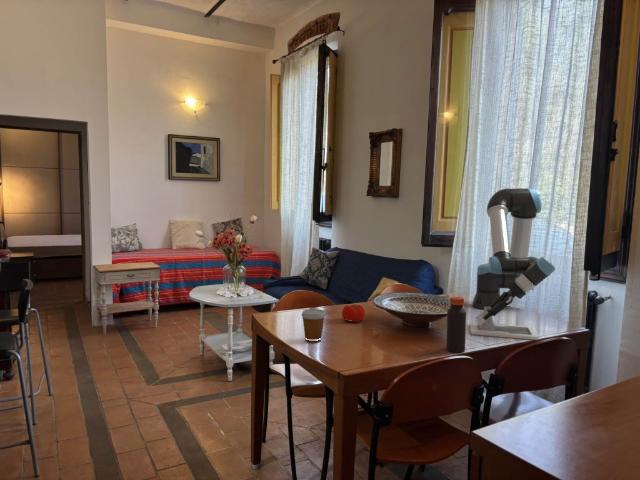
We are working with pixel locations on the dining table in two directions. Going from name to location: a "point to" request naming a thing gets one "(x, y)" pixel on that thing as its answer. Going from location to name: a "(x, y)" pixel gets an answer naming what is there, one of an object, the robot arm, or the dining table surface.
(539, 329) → the dining table surface
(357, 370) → the dining table surface
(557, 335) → the dining table surface
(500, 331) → the keyhole plate
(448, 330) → the bottle
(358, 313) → the tomato
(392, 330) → the dining table surface
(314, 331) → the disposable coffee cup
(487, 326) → the flask
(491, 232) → the robot arm
